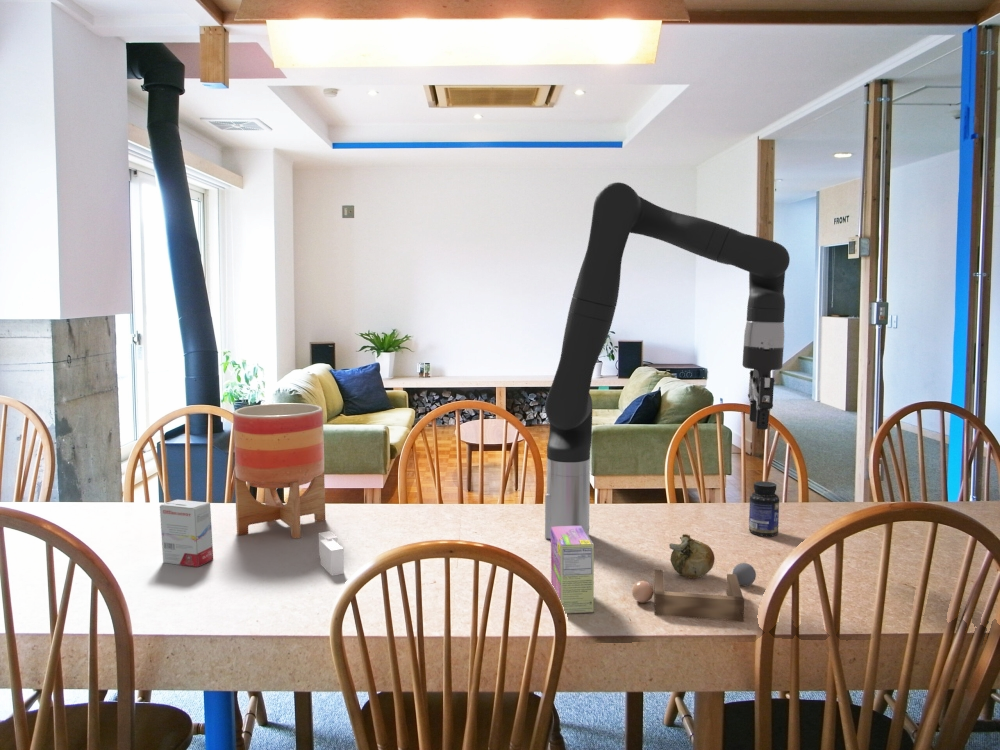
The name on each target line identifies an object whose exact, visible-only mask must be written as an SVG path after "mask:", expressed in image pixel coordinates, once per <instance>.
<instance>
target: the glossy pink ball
mask: <svg viewBox="0 0 1000 750" xmlns="http://www.w3.org/2000/svg"><path fill="white" fill-rule="evenodd" d="M631 595H632V597H633V599H634V600H635V601H637V602H638V603H642V604H645V603H649V601H651V600H652V599H653V597H654V587H653V586H652V585H651V584H650V583H649V582H648V581H646V580H638V581H636V582H635V583H634V584H633V586H632V588H631Z"/></svg>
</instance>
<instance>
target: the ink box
mask: <svg viewBox="0 0 1000 750" xmlns="http://www.w3.org/2000/svg"><path fill="white" fill-rule="evenodd" d="M211 511H212V510H211V502H205V501H195V500H188V499H187V500H186V499H174V500H170V501H168V502H165V503H162V504H160V505H159V514H160V515H159V517H160V530H161V531H160V533H161V547H162V548H161V549H162V562H163V563H164V564H169V565H170V564H172V565H178V566H179V565H181V566H186V567H187V566H188V567H194V568H198V567H201V566H203V565H205V564H207V563H209V562H211V561H212V560H214V549H213V548H214V547H213V532H212V531H213V530H212V526H213V525H212V513H211Z"/></svg>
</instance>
